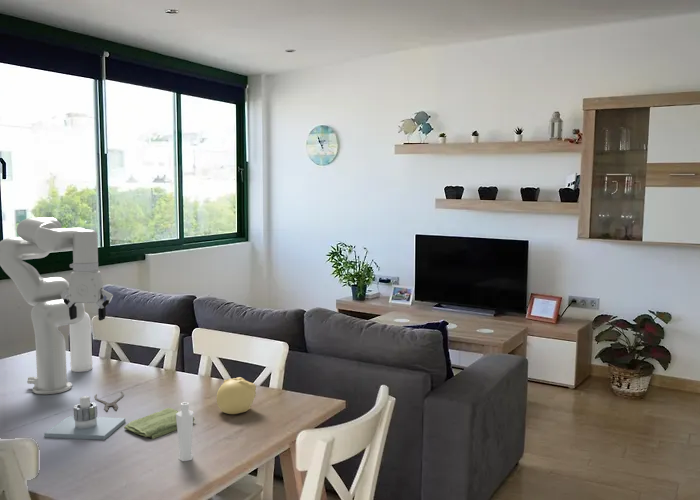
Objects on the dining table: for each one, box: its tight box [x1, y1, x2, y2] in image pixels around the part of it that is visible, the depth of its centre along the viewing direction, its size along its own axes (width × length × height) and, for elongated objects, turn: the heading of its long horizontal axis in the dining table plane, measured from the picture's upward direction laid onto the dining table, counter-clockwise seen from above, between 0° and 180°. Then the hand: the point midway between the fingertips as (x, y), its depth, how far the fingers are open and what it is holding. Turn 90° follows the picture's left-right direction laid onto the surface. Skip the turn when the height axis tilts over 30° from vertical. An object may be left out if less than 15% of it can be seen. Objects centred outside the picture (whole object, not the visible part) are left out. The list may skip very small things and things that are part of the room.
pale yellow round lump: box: [215, 376, 257, 415], centre depth 210 cm, size 11×12×11 cm
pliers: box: [93, 391, 125, 413], centre depth 220 cm, size 10×1×20 cm
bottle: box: [69, 303, 93, 373], centre depth 255 cm, size 8×8×30 cm
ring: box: [72, 401, 98, 421], centre depth 194 cm, size 6×6×4 cm
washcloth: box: [124, 407, 195, 440], centre depth 197 cm, size 13×18×3 cm
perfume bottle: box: [176, 401, 194, 462], centre depth 174 cm, size 5×4×15 cm
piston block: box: [43, 395, 126, 441], centre depth 194 cm, size 18×14×10 cm
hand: (87, 319), depth 215 cm, fingers open, 9 cm apart
